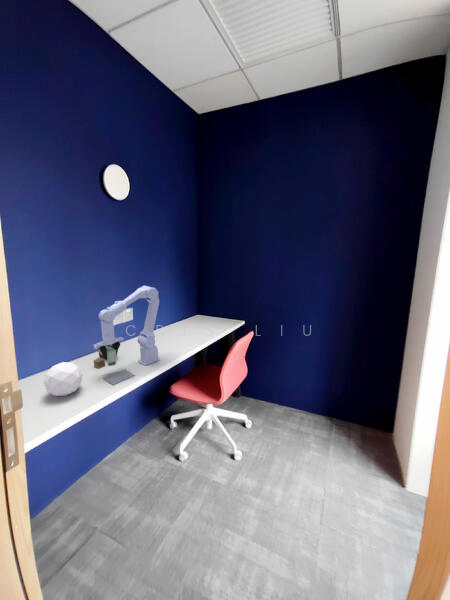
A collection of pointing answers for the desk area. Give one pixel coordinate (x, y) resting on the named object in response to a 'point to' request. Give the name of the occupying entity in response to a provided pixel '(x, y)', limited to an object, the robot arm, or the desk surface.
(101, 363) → the walnut cube
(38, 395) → the desk surface
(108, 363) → the metal cylinder
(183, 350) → the desk surface
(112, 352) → the green block
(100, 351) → the food container
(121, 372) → the mat
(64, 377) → the geometric shape
